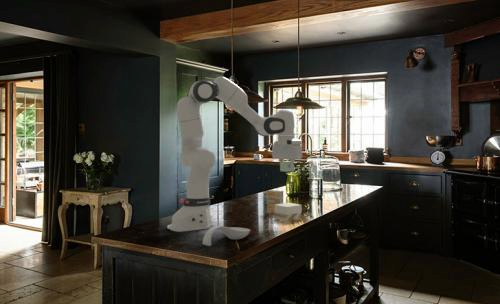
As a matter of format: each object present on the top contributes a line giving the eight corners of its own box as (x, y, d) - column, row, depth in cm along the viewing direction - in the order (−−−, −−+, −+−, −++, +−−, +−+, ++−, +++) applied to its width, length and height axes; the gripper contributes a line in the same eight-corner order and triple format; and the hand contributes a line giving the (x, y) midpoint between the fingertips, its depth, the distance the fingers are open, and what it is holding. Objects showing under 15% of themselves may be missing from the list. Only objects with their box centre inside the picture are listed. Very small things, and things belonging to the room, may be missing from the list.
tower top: (287, 214, 213) (286, 207, 212) (274, 212, 221) (274, 204, 221) (301, 212, 218) (301, 204, 218) (289, 209, 227) (289, 202, 226)
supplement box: (267, 213, 236) (266, 190, 236) (270, 212, 241) (270, 189, 240) (280, 214, 232) (280, 191, 232) (283, 213, 237) (283, 190, 236)
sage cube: (286, 171, 215) (286, 162, 215) (280, 171, 219) (280, 161, 219) (293, 171, 218) (293, 161, 218) (287, 170, 222) (287, 161, 222)
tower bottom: (286, 222, 213) (286, 214, 213) (274, 219, 221) (274, 212, 221) (300, 220, 219) (300, 212, 219) (288, 217, 227) (288, 209, 227)
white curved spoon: (236, 233, 190) (236, 218, 190) (255, 237, 182) (255, 221, 182) (196, 244, 172) (196, 226, 172) (216, 248, 165) (216, 230, 164)
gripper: (269, 141, 224) (269, 166, 225) (294, 141, 208) (295, 168, 208) (278, 141, 228) (278, 166, 228) (304, 141, 211) (304, 168, 212)
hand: (286, 167), depth 218 cm, fingers closed on sage cube, 5 cm apart
